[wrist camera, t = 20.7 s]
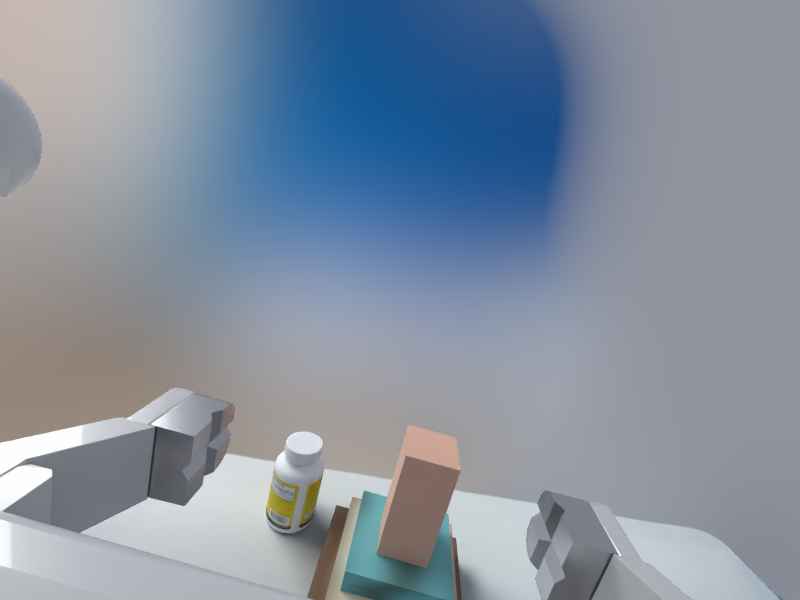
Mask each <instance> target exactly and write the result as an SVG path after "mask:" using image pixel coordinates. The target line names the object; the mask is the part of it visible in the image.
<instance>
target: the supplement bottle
mask: <svg viewBox="0 0 800 600" xmlns="http://www.w3.org/2000/svg"><path fill="white" fill-rule="evenodd" d="M322 448H323V442H322V440H321V439H320V437H319V436H317V435H316V434H313V433H310V432H296V433H294V434H292V435H290V436H289V437H288V439H287V441H286V446H285V451H284V452H282V453H281V454H280V455H279V456H278V458H277V460H276V463H275V467H274V472H273V477H272V482H271V487H270V493H269V498H268V503H267V508H266V519H267V521H268V523H269V525H270V526H271V527H272V528H273V529H275V530H276V531H278V532H282V533H295V532H299V531H301V530H303V529H304V528H306V527H307V526H308V525H309V524H310V522H311V520H312V518H313V515H314V511H315V507H316V502H317V498H318V493H319V489H320V485H321V480H322V476H323V472H324V461H323V459H322V457H321V454H322Z"/></svg>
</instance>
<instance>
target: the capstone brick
mask: <svg viewBox="0 0 800 600" xmlns="http://www.w3.org/2000/svg"><path fill="white" fill-rule="evenodd" d="M459 473H460V463H459V455H458V447H457V439H456V438H455V437H451V436H447V435H444V434H440V433H437V432H433V431H429V430H425V429H422V428H418V427H414V426H411V425H409V426H408V429H407V433H406V436H405V439H404V442H403V446H402V449H401V453H400V456H399V459H398V463H397V466H396V469H395V473H394V476H393V480H392V483H391V486H390V490H389V493H388V496H387V500H386V503H385V507H384V510H383V513H382V520H381V526H380V533H379V539H378V546H377V552H376V554H378V555H382V556H385V557H389V558H392V559H396V560H400V561H403V562H407V563H410V564H414V565H417V566H421V567H424V568H427V566H428V563H429V561H430V558H431V555H432V552H433V549H434V546H435V543H436V540H437V537H438V534H439V532H440V529H441V526H442V523H443V520H444V517H445V514H446V511H447V508H448V505H449V503H450V500H451V497H452V494H453V491H454V488H455V485H456V482H457V479H458V476H459Z"/></svg>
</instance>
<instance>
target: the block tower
mask: <svg viewBox="0 0 800 600" xmlns="http://www.w3.org/2000/svg"><path fill="white" fill-rule="evenodd" d="M386 500H387V497H385V496H382V495H378V494H374V493H371V492H367V491H364V493H363V497H362V499H359V498H355V497H352V501H351V504H350V508H349V509H348V508H345V507H341V506H338V505H336V509H335V512H334V515H333V518H332V521H331V524H330V527H329V531H328V534H327V537H326V540H325V543H324V546H323V549H322V553H321V556H320V559H319V562H318V565H317V568H316V571H315V575H314V578H313V581H312V584H311V587H310V590H309V593H308V597H307V598H309V599H313V600H461V590H460V578H459V567H458V555H457V544H456V538H453V537H452V524H449V518H448V514H445V517H444V520H443V523H442V526H441V529H440V532H439V534H438V537H437V540H436V543H435V546H434V549H433V552H432V555H431V558H430V561H429V563H428V566H427V568H424V567H421V566H417V565H414V564H410V563H407V562H403V561H400V560H396V559H392V558H389V557H385V556H382V555H378V554H376V552H377V546H378V539H379V533H380V526H381V520H382V513H383V510H384V507H385V503H386Z"/></svg>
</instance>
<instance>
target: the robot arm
mask: <svg viewBox="0 0 800 600" xmlns="http://www.w3.org/2000/svg"><path fill="white" fill-rule="evenodd" d="M41 151H42V141H41V133H40V130H39V127H38V124H37V122H36V119H35V117H34V114H33V113H32V111H31V109H30V107H29V106H28V104H27V103H26V102H25V100H24V99H23V97H22V96H21V95H20V94H19V93H18V91H17V90H16V89H15V88H14V87H13V86H12V85H11V84H10V83H9V82H8V81H7V80H6V79H5V78H4V77H2V76H1V75H0V197H6V196H8V195H10V194H12V193H14V192H15V191H17V190H18V189H20V188H21V187H22V186H24V185H25V184H26V183H27V182H28V181H29V180H30V178H31V177H32V176H33V174H34V173H35V171H36V169H37V167H38V165H39V162H40V159H41V153H42V152H41ZM234 410H235V407H234V405H233V404H232V403H229V402H226V401H222V400H219V399H215V398H212V397H209V396H206V395H202V394H199V393H195V392H192V391H188V390H185V389H181V388H173V389H171V390H169V391H168V392H166V393H165V394H163V395H162V396H161V397H159V398H157V399H156V400H154V401H153V402H151V403H150V404H148V405H147V406H145V407H144V408H143V409H141V410H139V411H138V412H136V413H135V414H133V415H132V416H130V417H129V418H127V419H126V418H122V417H118V418H114V419H109V420H105V421H100V422H95V423H91V424H86V425H81V426H77V427H72V428H68V429H63V430H58V431H54V432H50V433H45V434H40V435H35V436H31V437H26V438H22V439H17V440H12V441H8V442H3V443H0V600H313V599H309V598H306V597H302V596H299V595H295V594H292V593H288V592H285V591H281V590H278V589H274V588H271V587H267V586H263V585H260V584H256V583H253V582H249V581H246V580H242V579H239V578H235V577H232V576H228V575H225V574H221V573H218V572H214V571H211V570H207V569H204V568H200V567H197V566H193V565H190V564H186V563H182V562H179V561H175V560H172V559H168V558H165V557H161V556H158V555H154V554H151V553H147V552H144V551H140V550H137V549H133V548H130V547H126V546H123V545H119V544H116V543H112V542H109V541H105V540H101V539H98V538H94V537H91V536H87V535H84V534H80V532H82V531H84V530H86V529H88V528H90V527H92V526H94V525H96V524H98V523H100V522H102V521H104V520H106V519H108V518H110V517H112V516H114V515H116V514H118V513H120V512H122V511H124V510H126V509H128V508H130V507H132V506H134V505H136V504H138V503H140V502H142V501H144V500H146V499H147V497H149V498H153V499H157V500H161V501H166V502H170V503H174V504H178V505H182V506H185V505H186V504H187V502H188V501H189V500H190V499H191V498H192V497H193V495H194V494H195V493H196V492H197V491H198V490H199V488H200V487H201V486H202V484H203V477H204V476H205V475H208V474H210V473H212V472H214V471H215V469H216V468H217V467H218V466H219V464H220V463H221V461H222V459H223V457H224V455H225V454H226V451H227V448H228V445H229V441H230V436H231V434H230V432H229V430H228V428H227V425H228V424H229V423H230V422H231V421H232V420H233V417H234ZM538 506H539V509H540V513H538V514H537V515H535V516H534V517H532V518H531V521H530V523H529V526H528V529H527V538H526V544H527V552H528V556H529V559H530V561H531V563H532V564H533V565H534V566H535V567H536V568H537V570H538V573H537V575H536V578H535V580H536V583H537V586H538V590H539V593H540V596H541V600H692V599H691V598H689V597H688V596H687V595H686V594H685V593H683V592H682V591H681V590H680V589H679V588H678V587H676V586H675V585H674V584H673V583H672V582H670V581H669V580H668V579H667V578H666V577H665V576H663V575H662V574H661V573H660V572H659V571H657V570H656V569H655V568H654V567H653V566H652V565H650V564H648V563H644V562H643V561H642V559H641V558H640V556H639V555H638V553H637V551H636V550H635V548H634V547H633V545H632V543H631V542H630V540H629V539H628V537H627V535H626V534H625V532H624V531H623V529H622V528H621V526H620V524H619V523H618V521H617V520H616V518H615V516H614V515H613V513H612V512H611V510H610V509H609V508H608V507H606V506H605V505H603V504H598V503H594V502H590V501H586V500H580V499H576V498H573V497H569V496H565V495H561V494H557V493H553V492H549V491H544V492H543V494H541V496H540V499H539V501H538Z"/></svg>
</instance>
